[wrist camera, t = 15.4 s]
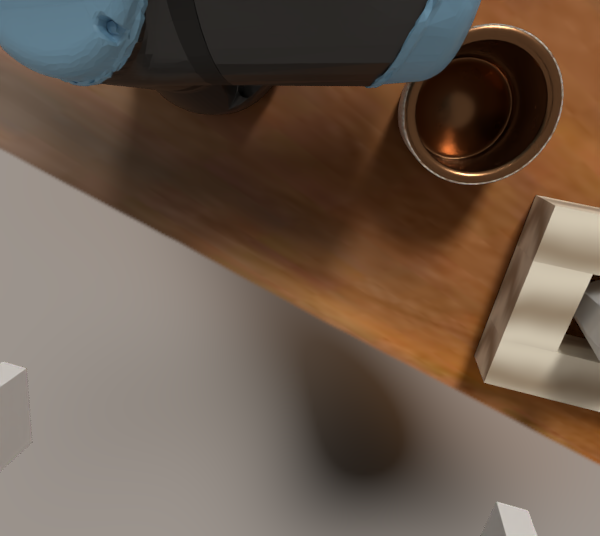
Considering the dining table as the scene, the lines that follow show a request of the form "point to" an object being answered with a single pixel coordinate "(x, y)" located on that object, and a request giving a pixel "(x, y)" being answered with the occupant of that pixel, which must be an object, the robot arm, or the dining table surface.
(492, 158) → the planter
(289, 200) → the dining table surface
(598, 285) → the low poly bottle
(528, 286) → the socket block
